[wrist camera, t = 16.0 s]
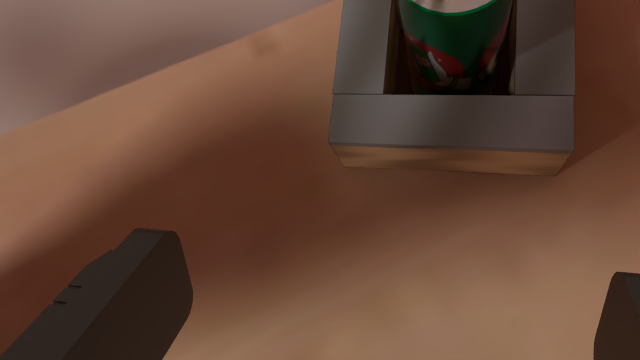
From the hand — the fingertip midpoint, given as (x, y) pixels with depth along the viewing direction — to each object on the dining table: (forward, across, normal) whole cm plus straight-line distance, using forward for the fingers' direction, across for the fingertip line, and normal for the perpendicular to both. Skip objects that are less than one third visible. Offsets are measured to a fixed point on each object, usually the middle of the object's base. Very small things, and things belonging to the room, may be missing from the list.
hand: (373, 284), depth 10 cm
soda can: (+24, -1, +4) cm, 25 cm away
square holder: (+24, -1, +4) cm, 24 cm away
